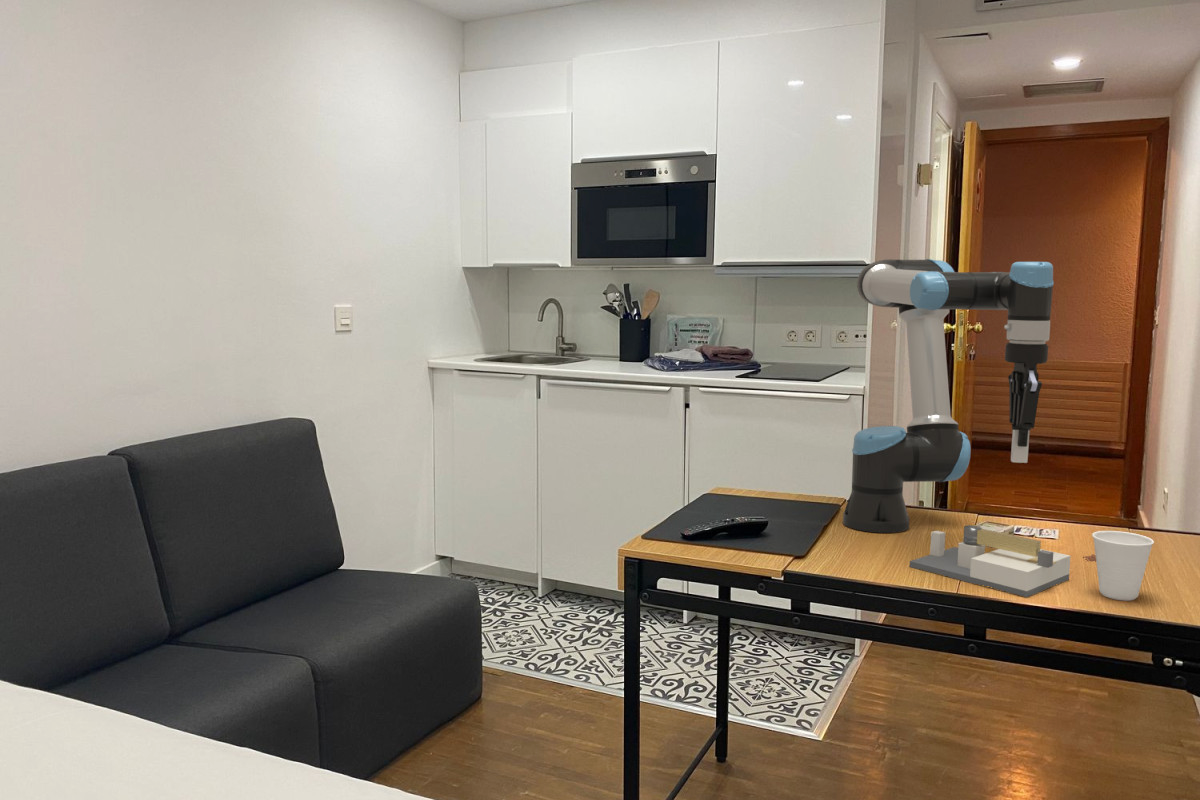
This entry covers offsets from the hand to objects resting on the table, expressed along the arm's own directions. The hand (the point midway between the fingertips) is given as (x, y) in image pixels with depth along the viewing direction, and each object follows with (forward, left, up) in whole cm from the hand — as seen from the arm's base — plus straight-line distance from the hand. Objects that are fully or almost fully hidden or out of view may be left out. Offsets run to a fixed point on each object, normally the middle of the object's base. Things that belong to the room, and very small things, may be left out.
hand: (1018, 461), depth 181 cm
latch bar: (+1, -7, -16) cm, 18 cm away
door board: (-3, -5, -22) cm, 23 cm away
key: (+9, +18, -23) cm, 30 cm away
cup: (+19, +1, -22) cm, 30 cm away
